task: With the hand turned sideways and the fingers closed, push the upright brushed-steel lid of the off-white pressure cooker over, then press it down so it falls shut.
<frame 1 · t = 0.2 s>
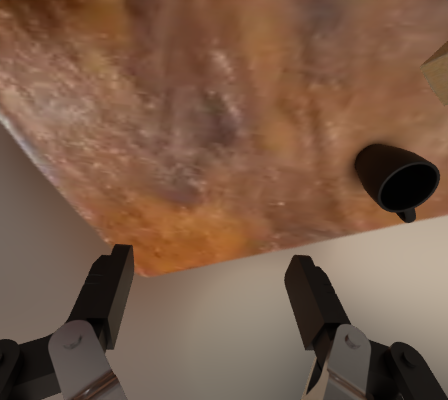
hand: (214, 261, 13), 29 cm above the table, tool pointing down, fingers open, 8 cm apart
mug: (372, 168, 44), on the table
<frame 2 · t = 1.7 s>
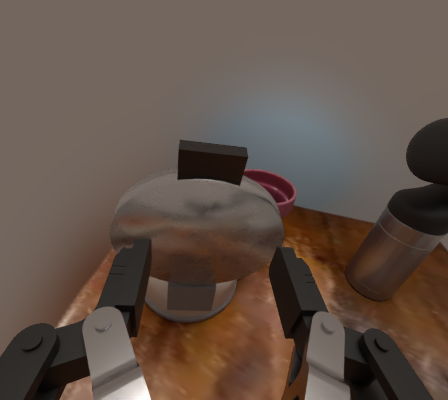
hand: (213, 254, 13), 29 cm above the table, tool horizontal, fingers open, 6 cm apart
lid: (200, 230, 25), point 22 cm above the table, hinge at 100.0°
plant pot: (250, 230, 60), on the table
pressure cooker: (188, 276, 47), on the table
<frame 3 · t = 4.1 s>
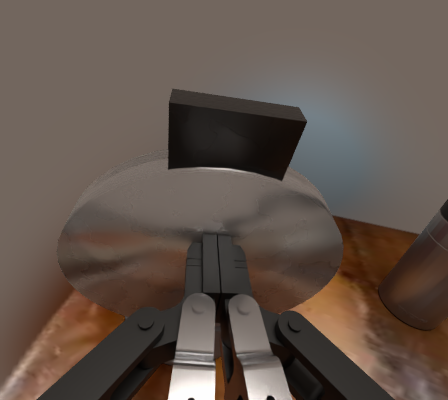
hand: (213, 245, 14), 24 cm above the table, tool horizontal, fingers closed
lid: (207, 253, 16), point 22 cm above the table, hinge at 99.4°, touching gripper
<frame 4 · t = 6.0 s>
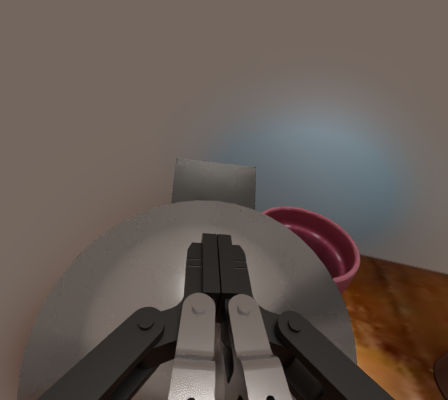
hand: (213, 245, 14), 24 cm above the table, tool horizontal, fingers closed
lid: (204, 331, 14), point 20 cm above the table, hinge at 42.5°
plant pot: (278, 296, 40), on the table
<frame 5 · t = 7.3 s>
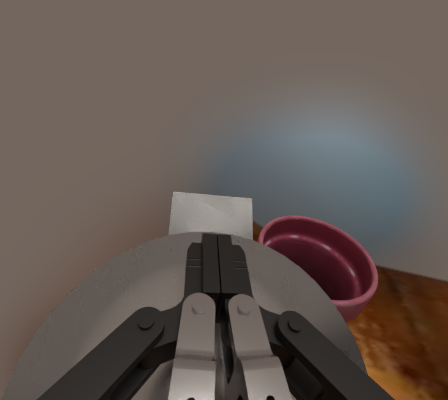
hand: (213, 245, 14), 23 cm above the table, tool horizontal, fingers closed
lid: (204, 377, 13), point 18 cm above the table, hinge at 32.1°, touching gripper
plant pot: (285, 312, 37), on the table
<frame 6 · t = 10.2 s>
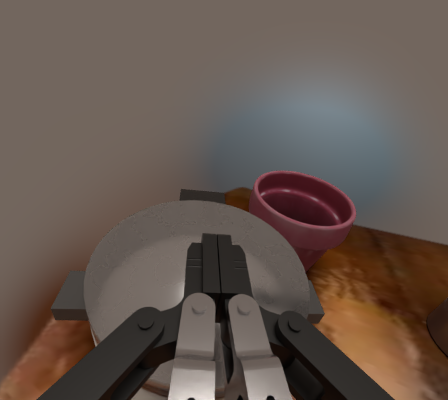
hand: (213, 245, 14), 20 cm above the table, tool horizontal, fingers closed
lid: (202, 258, 22), point 13 cm above the table, hinge at -0.1°
plant pot: (278, 258, 42), on the table
pressure cooker: (189, 348, 28), on the table
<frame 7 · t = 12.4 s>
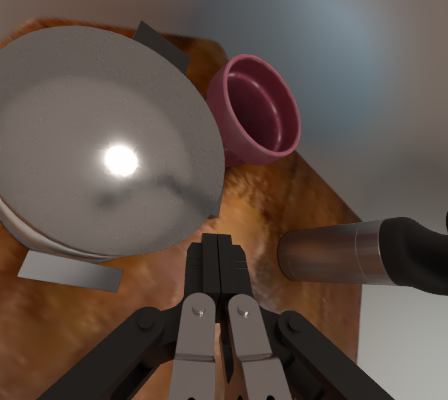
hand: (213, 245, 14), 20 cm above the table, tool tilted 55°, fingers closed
lid: (133, 129, 20), point 13 cm above the table, hinge at -0.1°
plant pot: (210, 142, 42), on the table
pressure cooker: (92, 185, 30), on the table
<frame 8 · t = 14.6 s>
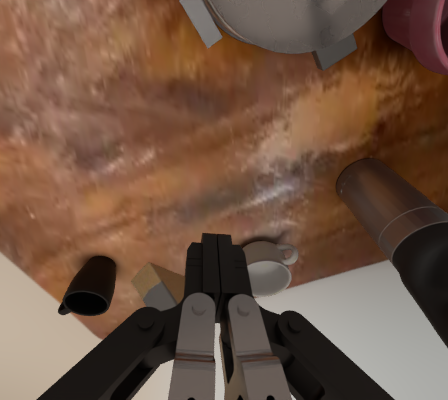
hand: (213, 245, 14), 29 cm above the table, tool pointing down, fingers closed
teacup: (263, 247, 56), on the table
mug: (96, 266, 56), on the table
sandwich container: (167, 281, 61), on the table
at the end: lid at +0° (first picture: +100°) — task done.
